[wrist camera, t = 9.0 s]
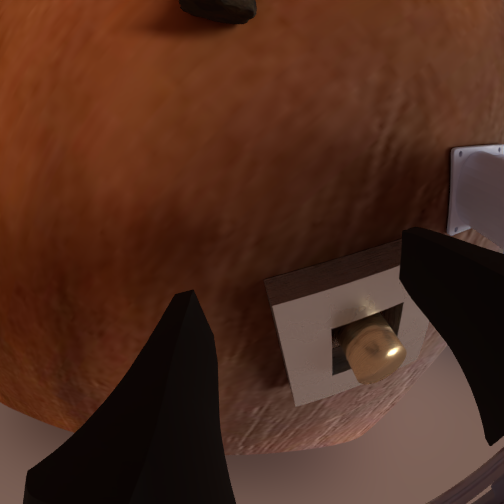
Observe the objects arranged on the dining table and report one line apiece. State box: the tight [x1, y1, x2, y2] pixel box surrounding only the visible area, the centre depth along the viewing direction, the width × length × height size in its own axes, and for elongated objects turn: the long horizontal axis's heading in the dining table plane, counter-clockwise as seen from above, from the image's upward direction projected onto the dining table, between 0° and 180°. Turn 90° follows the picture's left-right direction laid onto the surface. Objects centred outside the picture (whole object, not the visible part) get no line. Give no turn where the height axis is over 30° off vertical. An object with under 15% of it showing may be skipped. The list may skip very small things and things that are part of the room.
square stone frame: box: [264, 239, 429, 407], centre depth 22 cm, size 14×14×3 cm
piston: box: [332, 312, 407, 384], centre depth 21 cm, size 4×4×6 cm
